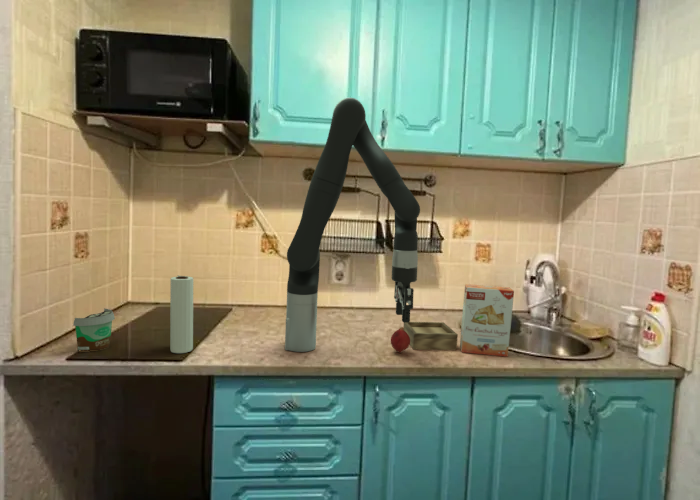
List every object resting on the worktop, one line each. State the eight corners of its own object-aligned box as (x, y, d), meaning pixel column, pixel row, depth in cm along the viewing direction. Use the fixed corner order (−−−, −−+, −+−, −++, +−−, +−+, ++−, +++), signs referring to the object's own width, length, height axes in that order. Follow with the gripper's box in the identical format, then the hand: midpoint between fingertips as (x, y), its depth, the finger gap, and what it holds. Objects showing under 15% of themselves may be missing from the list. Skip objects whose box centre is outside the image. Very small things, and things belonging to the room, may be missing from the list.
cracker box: (461, 353, 133) (466, 286, 131) (459, 347, 139) (464, 283, 137) (508, 357, 131) (514, 290, 129) (504, 351, 137) (510, 286, 135)
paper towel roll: (187, 354, 121) (188, 279, 119) (166, 353, 122) (166, 278, 119) (197, 346, 129) (198, 275, 126) (177, 345, 129) (177, 274, 127)
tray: (413, 349, 135) (414, 333, 134) (403, 335, 149) (403, 321, 148) (456, 349, 136) (457, 334, 136) (442, 336, 150) (443, 322, 150)
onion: (397, 357, 127) (398, 330, 126) (386, 350, 132) (387, 325, 131) (413, 354, 130) (414, 328, 129) (401, 348, 135) (403, 323, 134)
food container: (93, 356, 117) (93, 320, 116) (73, 354, 118) (73, 318, 117) (124, 342, 129) (124, 309, 128) (106, 340, 130) (105, 308, 129)
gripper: (387, 261, 135) (385, 312, 137) (397, 268, 121) (395, 324, 123) (411, 262, 136) (408, 312, 138) (423, 268, 122) (420, 324, 123)
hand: (402, 318), depth 130 cm, fingers open, 8 cm apart
